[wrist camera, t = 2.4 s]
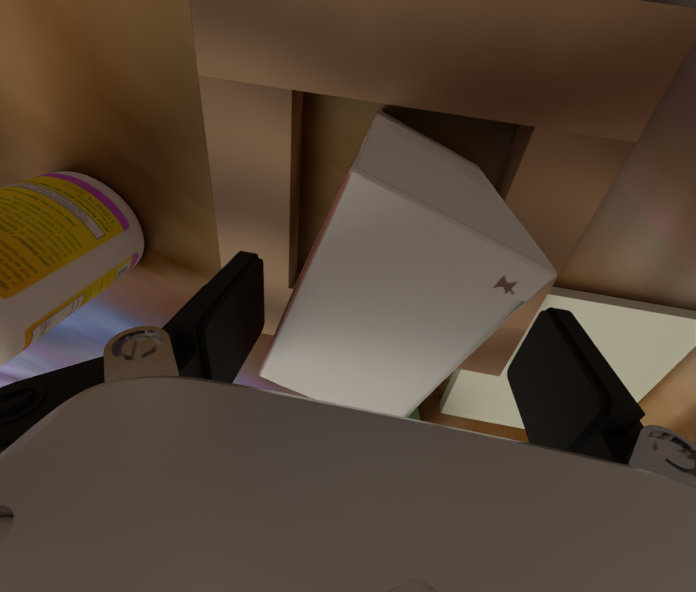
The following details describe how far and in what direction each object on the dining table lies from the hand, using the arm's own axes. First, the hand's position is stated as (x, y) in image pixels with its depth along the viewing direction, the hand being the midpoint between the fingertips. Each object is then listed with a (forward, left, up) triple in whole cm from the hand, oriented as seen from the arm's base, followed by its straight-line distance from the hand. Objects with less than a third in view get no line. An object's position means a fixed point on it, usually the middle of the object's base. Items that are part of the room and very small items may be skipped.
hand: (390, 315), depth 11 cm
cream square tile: (+8, +13, -9) cm, 17 cm away
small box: (-1, 0, -9) cm, 9 cm away
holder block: (-1, 0, -9) cm, 9 cm away
